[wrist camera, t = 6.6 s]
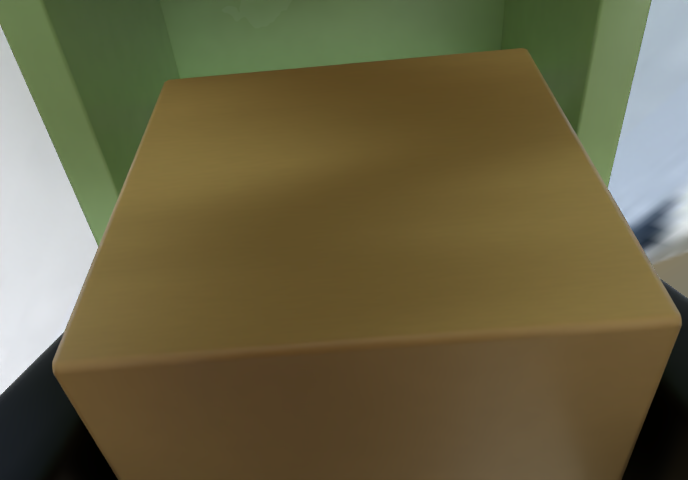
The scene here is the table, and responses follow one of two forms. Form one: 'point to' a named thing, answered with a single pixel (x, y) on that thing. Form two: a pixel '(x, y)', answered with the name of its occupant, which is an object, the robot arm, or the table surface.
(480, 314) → the block
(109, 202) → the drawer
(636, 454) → the robot arm
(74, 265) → the table surface
